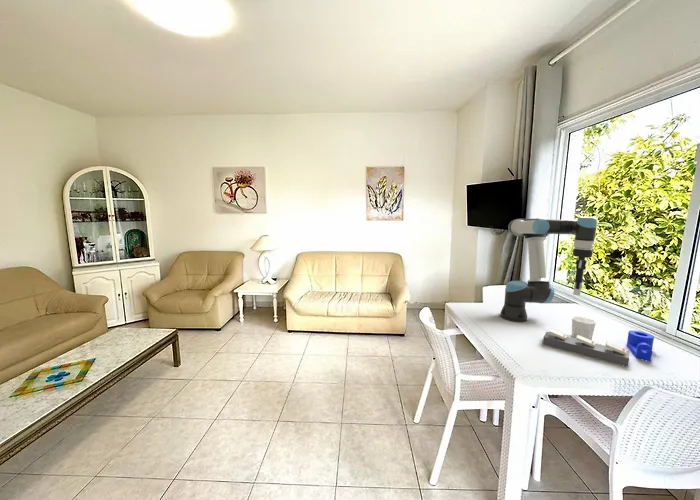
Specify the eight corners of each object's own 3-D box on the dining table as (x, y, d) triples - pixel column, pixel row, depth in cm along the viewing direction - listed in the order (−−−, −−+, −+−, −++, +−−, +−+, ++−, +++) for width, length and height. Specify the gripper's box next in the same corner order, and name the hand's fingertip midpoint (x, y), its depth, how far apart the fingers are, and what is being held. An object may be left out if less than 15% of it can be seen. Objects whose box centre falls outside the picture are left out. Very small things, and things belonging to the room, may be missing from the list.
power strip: (542, 344, 151) (543, 335, 150) (545, 338, 157) (546, 330, 157) (627, 367, 129) (629, 356, 129) (627, 359, 136) (628, 349, 135)
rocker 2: (575, 339, 143) (576, 337, 143) (576, 336, 146) (577, 334, 146) (593, 347, 139) (594, 344, 138) (593, 344, 142) (595, 341, 142)
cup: (588, 335, 162) (590, 317, 161) (597, 342, 153) (599, 324, 152) (567, 332, 166) (569, 315, 164) (574, 339, 156) (576, 322, 155)
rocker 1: (548, 333, 150) (549, 330, 150) (550, 330, 154) (551, 328, 153) (564, 340, 146) (565, 337, 146) (566, 337, 149) (567, 335, 149)
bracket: (625, 342, 154) (627, 328, 153) (650, 348, 148) (652, 333, 147) (629, 357, 139) (631, 341, 138) (657, 363, 133) (659, 347, 132)
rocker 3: (605, 346, 136) (606, 344, 135) (605, 343, 139) (606, 341, 139) (625, 354, 131) (626, 352, 131) (624, 351, 135) (626, 349, 134)
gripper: (592, 251, 137) (585, 299, 141) (593, 247, 146) (587, 293, 150) (572, 249, 142) (565, 296, 146) (574, 246, 151) (568, 290, 155)
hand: (576, 294), depth 148 cm, fingers closed
